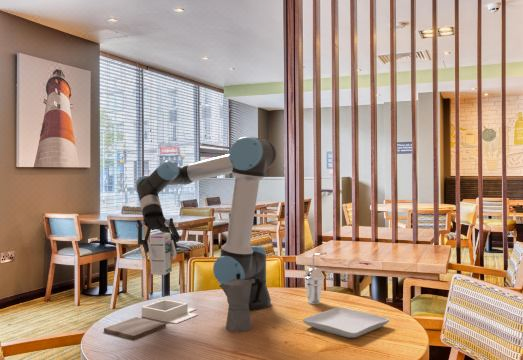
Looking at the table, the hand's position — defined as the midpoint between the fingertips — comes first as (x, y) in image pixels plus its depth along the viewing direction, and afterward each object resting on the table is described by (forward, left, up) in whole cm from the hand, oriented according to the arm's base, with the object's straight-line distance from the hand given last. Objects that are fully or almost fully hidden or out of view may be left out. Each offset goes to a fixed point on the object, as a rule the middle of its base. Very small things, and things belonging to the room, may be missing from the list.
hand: (163, 257), depth 168 cm
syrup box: (+3, -2, -6) cm, 7 cm away
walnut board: (-1, +14, -22) cm, 26 cm away
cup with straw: (-38, -45, -22) cm, 62 cm away
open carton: (0, -6, -22) cm, 22 cm away
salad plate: (-60, -23, -22) cm, 68 cm away
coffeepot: (-30, -6, -22) cm, 37 cm away
